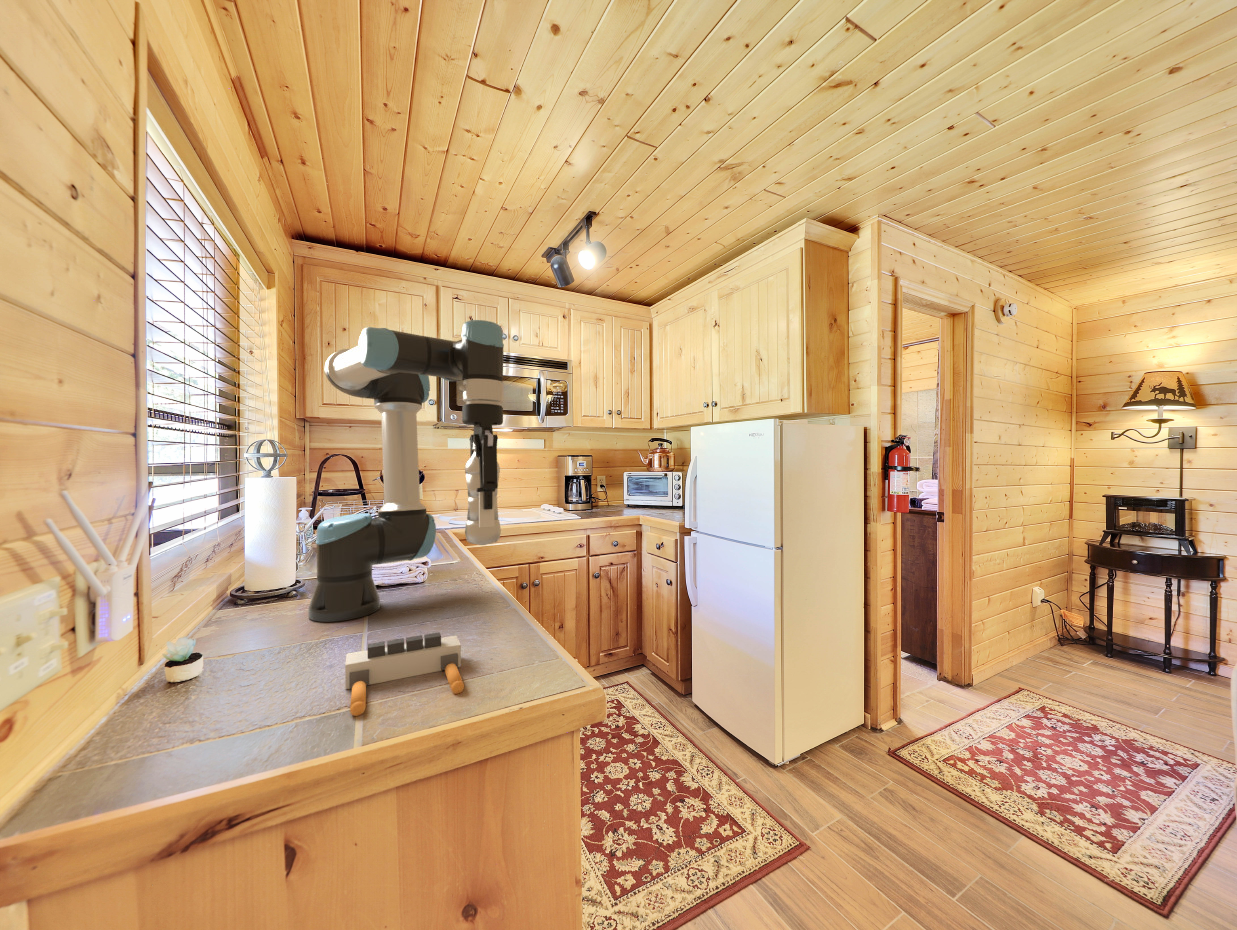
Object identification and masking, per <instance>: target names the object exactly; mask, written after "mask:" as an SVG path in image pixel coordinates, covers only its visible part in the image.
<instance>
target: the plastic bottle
mask: <svg viewBox="0 0 1237 930" xmlns="http://www.w3.org/2000/svg"><path fill="white" fill-rule="evenodd" d="M472 450H474V453H473V455H472V456H471V457H470V456H469V459H468V460H467V462H466V464H465V466H464V473H465V481H466V486H467V500H468V503H467V504H468V505H467V515H466V519H467V520H466V522H465V527H464V528H465V529H464V535H465V538H466V541H467V542H468V543H470V544H474V545H479V546H486V545H491V544H493V543H497V542H498V541H499V540H500V539H501V538H500V537H501V532H502V529H501V523H500V519H499V510H498V493H499V491H498V490H499V489H498V488H499V487H498V488H497V489H495V497H494V527H479V492H477V491H476V490H477V488H480V473H479V471H480V468H479V458H478V457H476V454H475V444H474V442H473V448H472ZM500 472H501V467H500V464H499V462H498V461H497V484H498V485H499V481H500V480H499V479H500Z"/></svg>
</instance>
